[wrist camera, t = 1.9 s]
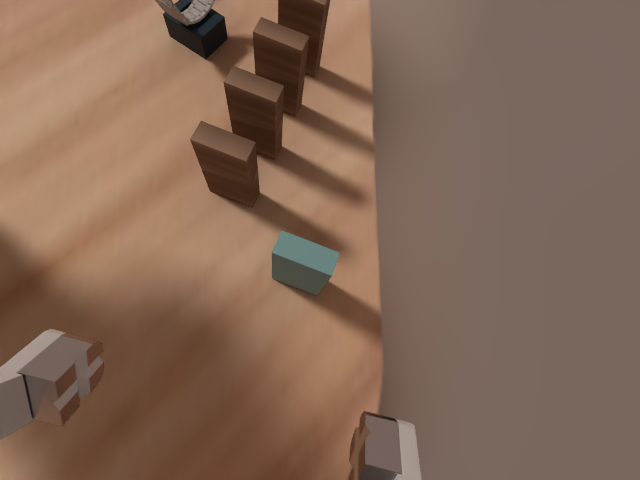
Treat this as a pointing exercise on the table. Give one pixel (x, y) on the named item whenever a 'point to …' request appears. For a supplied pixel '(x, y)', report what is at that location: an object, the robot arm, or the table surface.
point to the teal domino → (302, 263)
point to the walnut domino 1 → (306, 25)
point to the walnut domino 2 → (281, 60)
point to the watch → (195, 25)
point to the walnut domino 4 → (227, 163)
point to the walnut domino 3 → (255, 109)
